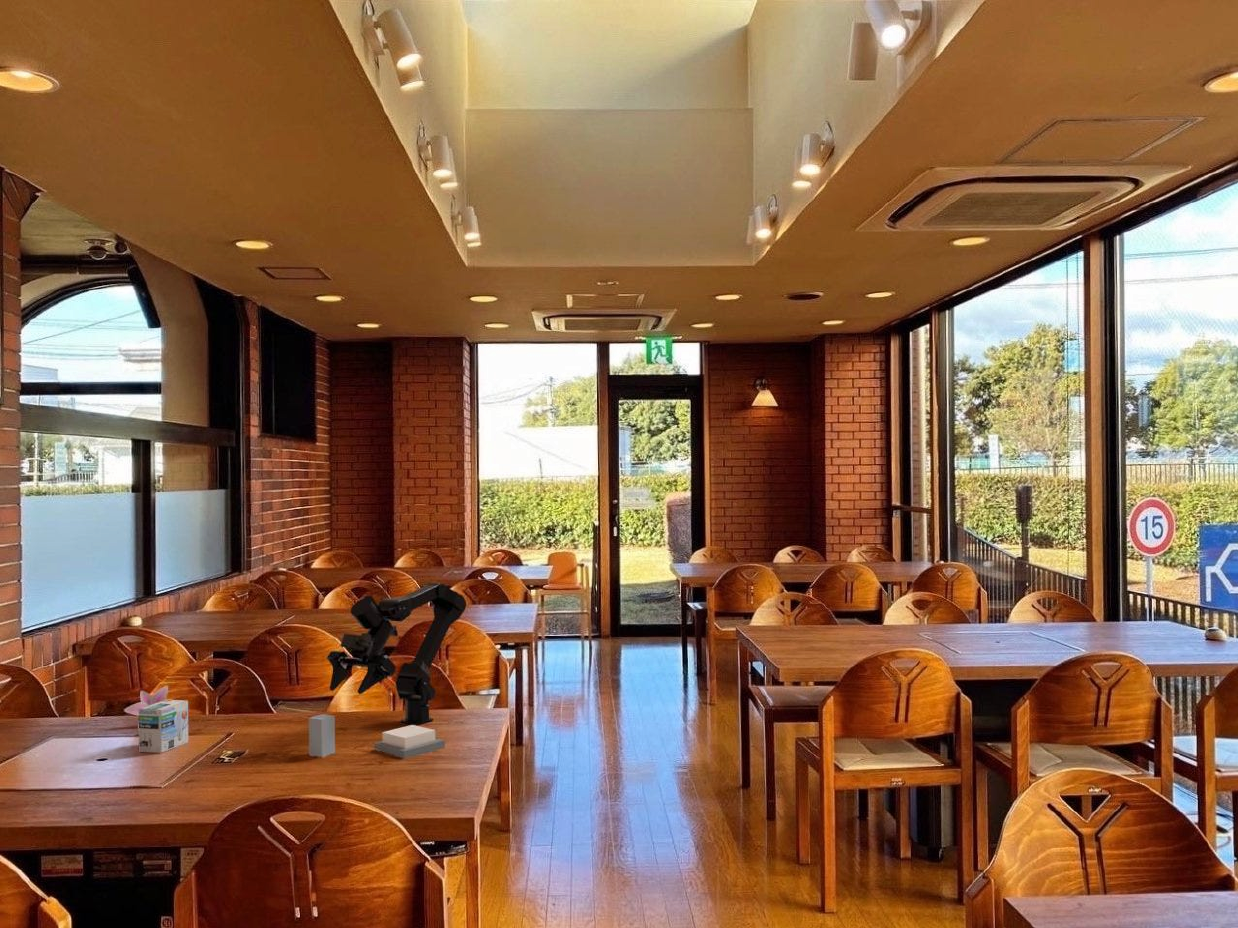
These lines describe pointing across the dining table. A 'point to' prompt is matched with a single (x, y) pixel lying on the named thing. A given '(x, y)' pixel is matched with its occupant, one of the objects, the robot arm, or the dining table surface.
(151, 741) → the light bulb box
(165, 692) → the lily
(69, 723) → the dining table surface
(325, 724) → the slate block
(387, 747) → the square tray
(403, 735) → the off-white top slab
